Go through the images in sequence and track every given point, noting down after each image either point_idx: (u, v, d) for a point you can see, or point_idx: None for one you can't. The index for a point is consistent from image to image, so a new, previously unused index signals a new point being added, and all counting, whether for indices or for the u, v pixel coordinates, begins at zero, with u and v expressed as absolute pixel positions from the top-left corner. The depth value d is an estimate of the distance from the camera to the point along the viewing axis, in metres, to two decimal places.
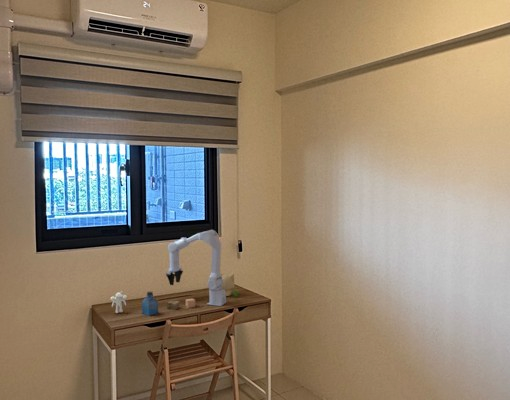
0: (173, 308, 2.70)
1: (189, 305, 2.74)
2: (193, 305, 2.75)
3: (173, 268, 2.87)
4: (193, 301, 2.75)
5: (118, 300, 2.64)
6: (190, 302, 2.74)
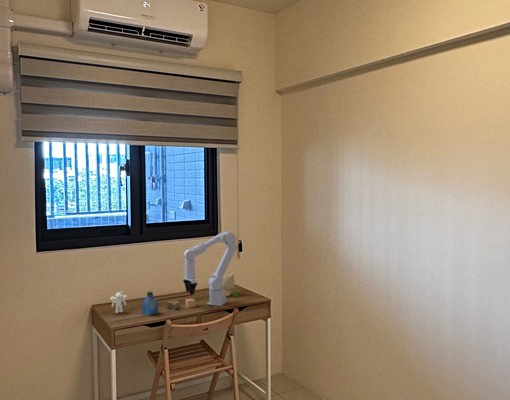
0: (173, 308, 2.70)
1: (189, 305, 2.74)
2: (193, 305, 2.75)
3: (192, 277, 2.73)
4: (193, 301, 2.75)
5: (118, 300, 2.64)
6: (190, 302, 2.74)
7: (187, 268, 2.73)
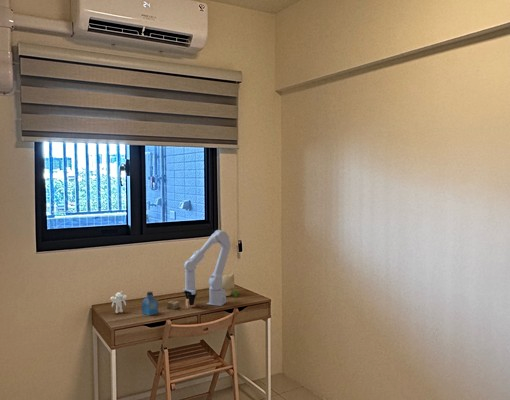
0: (173, 308, 2.70)
1: (189, 305, 2.74)
2: (193, 305, 2.75)
3: (192, 287, 2.74)
4: None
5: (118, 300, 2.64)
6: None
7: (187, 279, 2.73)
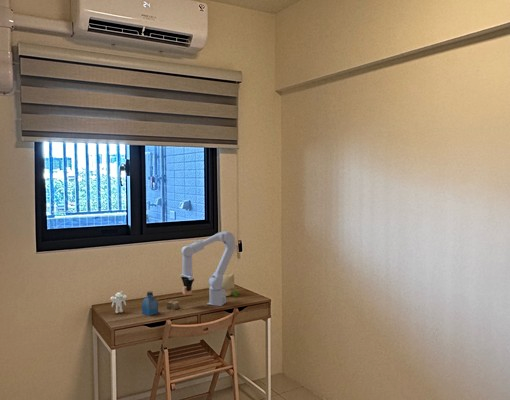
0: (173, 308, 2.70)
1: (186, 292, 2.73)
2: (190, 292, 2.74)
3: (189, 273, 2.73)
4: None
5: (118, 300, 2.64)
6: None
7: (184, 265, 2.72)
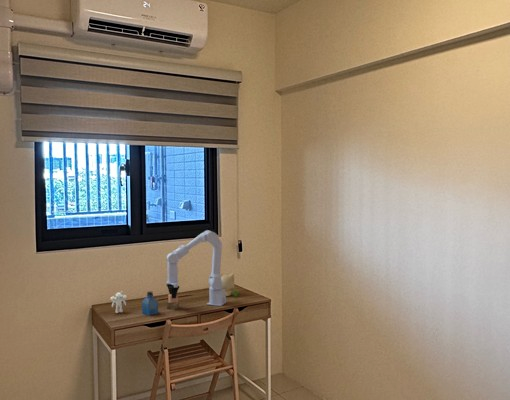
0: (173, 308, 2.70)
1: (172, 300, 2.70)
2: (176, 300, 2.71)
3: (175, 280, 2.69)
4: (176, 296, 2.71)
5: (118, 300, 2.64)
6: None
7: (170, 272, 2.69)
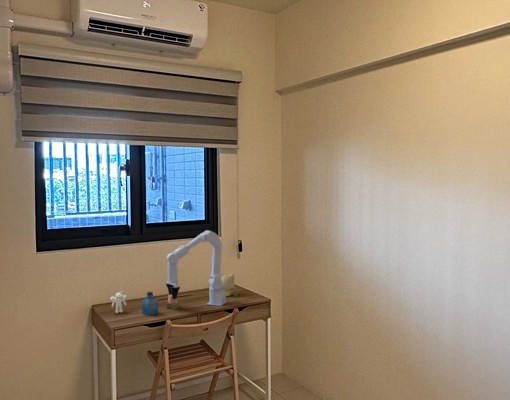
0: (173, 308, 2.70)
1: (172, 301, 2.70)
2: (176, 301, 2.71)
3: (175, 281, 2.69)
4: None
5: (118, 300, 2.64)
6: None
7: (170, 272, 2.69)
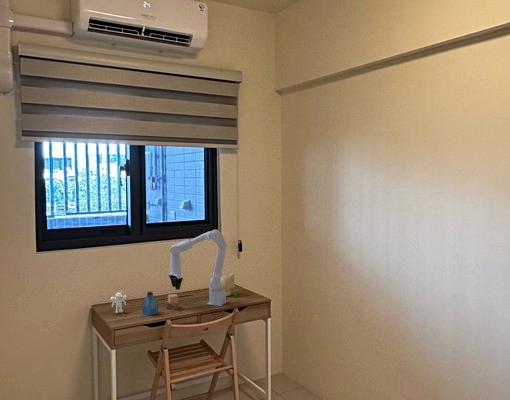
0: (173, 308, 2.70)
1: (172, 301, 2.70)
2: (176, 301, 2.71)
3: (178, 272, 2.75)
4: (176, 297, 2.71)
5: (118, 300, 2.64)
6: (173, 298, 2.70)
7: (172, 263, 2.75)
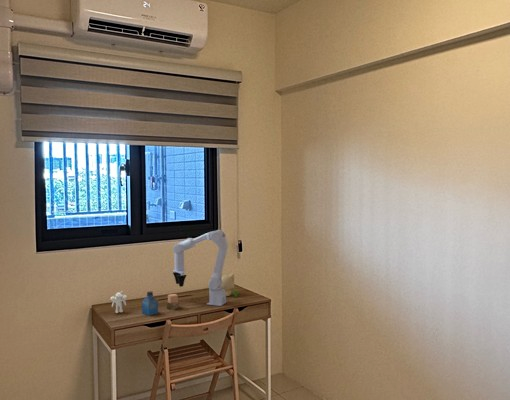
0: (173, 308, 2.70)
1: (172, 300, 2.70)
2: (176, 300, 2.71)
3: (181, 269, 2.82)
4: (176, 296, 2.71)
5: (118, 300, 2.64)
6: (173, 297, 2.70)
7: (175, 260, 2.83)
